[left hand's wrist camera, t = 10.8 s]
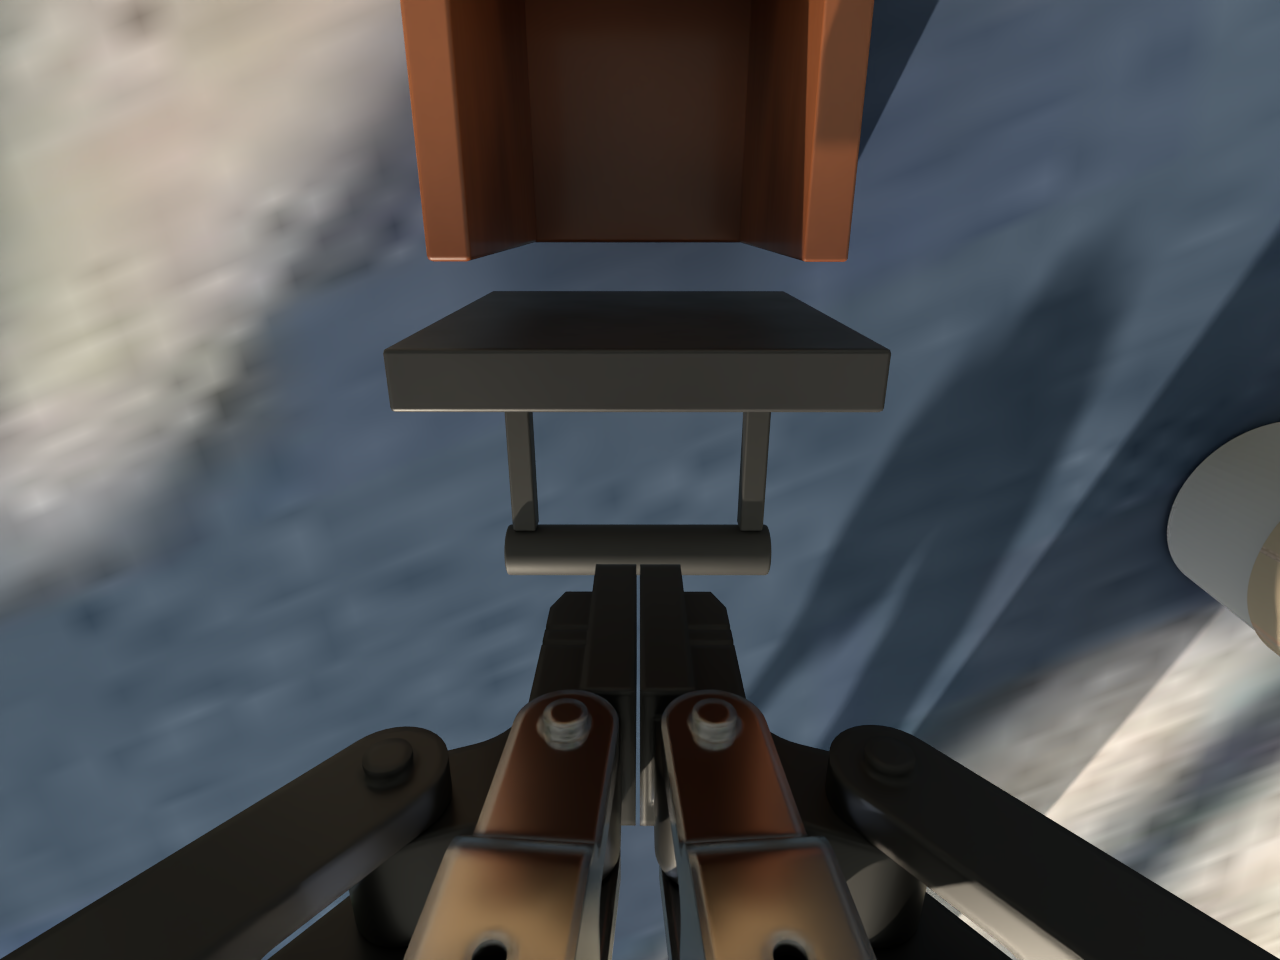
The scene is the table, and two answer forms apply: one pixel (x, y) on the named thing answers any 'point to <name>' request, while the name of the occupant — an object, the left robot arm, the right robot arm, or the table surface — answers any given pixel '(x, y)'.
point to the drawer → (637, 231)
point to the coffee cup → (1234, 529)
